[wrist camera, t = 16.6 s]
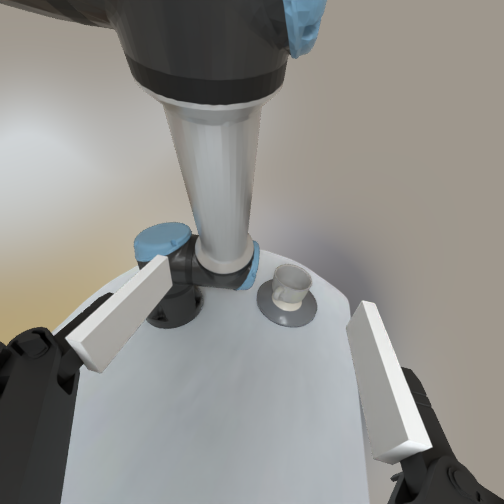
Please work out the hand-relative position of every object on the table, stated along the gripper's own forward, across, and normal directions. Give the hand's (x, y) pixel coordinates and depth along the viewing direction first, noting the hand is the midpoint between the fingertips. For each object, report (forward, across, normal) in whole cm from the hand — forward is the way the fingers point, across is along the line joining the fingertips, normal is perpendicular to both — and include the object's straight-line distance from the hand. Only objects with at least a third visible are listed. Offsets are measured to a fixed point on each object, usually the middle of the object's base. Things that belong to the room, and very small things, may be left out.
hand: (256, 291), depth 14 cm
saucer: (+34, +7, -35) cm, 49 cm away
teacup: (+34, +6, -34) cm, 49 cm away
